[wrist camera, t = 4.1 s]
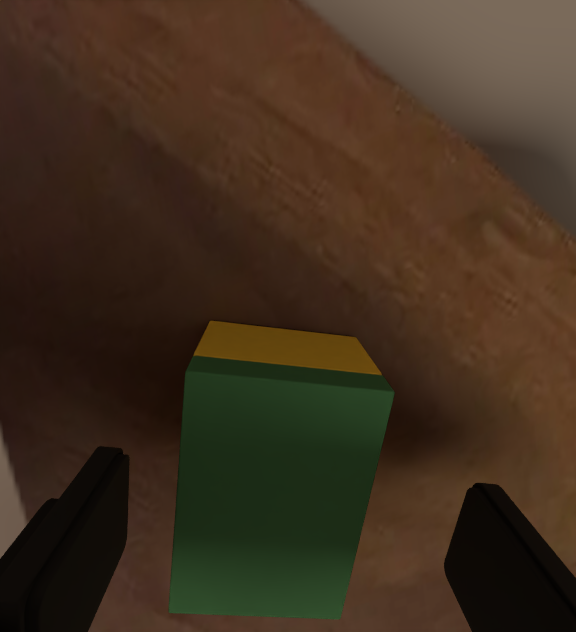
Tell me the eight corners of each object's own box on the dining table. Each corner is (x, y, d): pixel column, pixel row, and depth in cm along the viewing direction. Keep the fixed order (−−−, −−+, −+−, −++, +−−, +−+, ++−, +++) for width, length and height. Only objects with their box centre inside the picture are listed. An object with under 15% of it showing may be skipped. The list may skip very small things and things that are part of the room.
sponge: (320, 513, 15) (340, 620, 11) (193, 505, 14) (167, 614, 10) (356, 336, 13) (395, 392, 9) (209, 319, 12) (185, 370, 8)
